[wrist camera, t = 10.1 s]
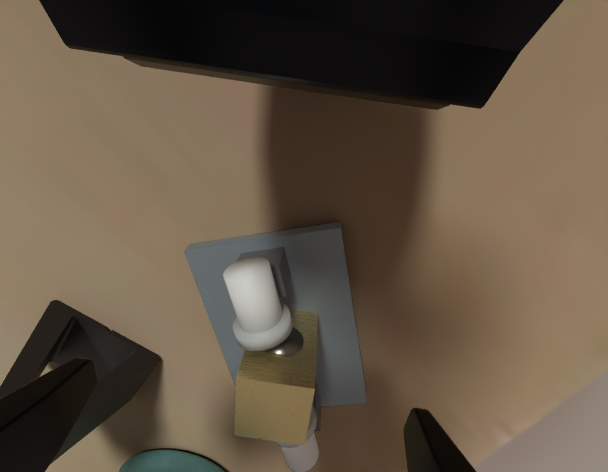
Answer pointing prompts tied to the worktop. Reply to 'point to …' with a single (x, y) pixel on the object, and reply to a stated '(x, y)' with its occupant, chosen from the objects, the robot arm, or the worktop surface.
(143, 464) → the flower pot
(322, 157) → the worktop surface
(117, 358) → the phone stand
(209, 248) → the grey plate with pegs
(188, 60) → the robot arm
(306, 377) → the tan block
